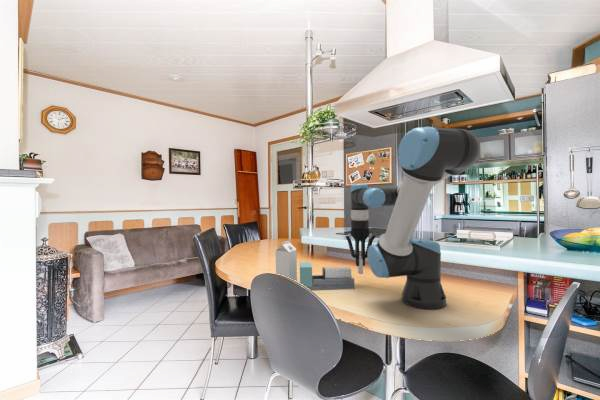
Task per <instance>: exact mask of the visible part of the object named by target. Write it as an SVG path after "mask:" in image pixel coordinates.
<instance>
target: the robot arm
mask: <svg viewBox="0 0 600 400" xmlns="http://www.w3.org/2000/svg"><path fill="white" fill-rule="evenodd" d="M397 151H398V152H397V154H398V157H397V159H398V162H399V164H400V166H401V167H400V168H401V169H400V170H401V171H402V173H403V175H404V176H403V179H402V182H401V183H400V184H398V185H397V186H396V187H378V188H377V187H369V185H368V184H366V183H362V184H361V183H358V184H356V183H354V184H351V185H350V219H351V220H350V232H349V233H348V234H346V235H345V236H344V238H345V239H346V240H347V245H348V247H349V251H350V255H351V257H352V258H354V259H355V266H356V267H357V273H358V274H359V275H363V274H364V270H363V269H364V267H365V266H366V259H367V261H368V265H369V268H370V271H371V272H372V273H373V274H374V276H376V277H377V278H380V279H381V278H382V279H383V278H385V279H390V278H396V277H406V281H405V284H404V286H403V289H402V291H401V300H402V302H403V303H404V304H406V305H407V306H411V307H413V308H418V309H424V310H437V309H442V308H445V307H446V306H447V297H446V294H445V291H444V288H443V286H442V282H441V281H442V280H441V277H442V275H441V273H442V272H441V265H442V264H441V263H442V262H441V261H442V260H441V259H442V258H441V257H442V253H441V245H440V243H439V242H437V241H435V240H430V239H424V238H417V237H414V234H415V232H416V229H417V227H418V224H419V221H420V219H421V217H422V214H423V212H424V209H425V207H426V204H427V201H428V199H429V196H430V195H431V191H432V189H433V187H435V186H437V184H439V183H441V182H442V181H444V180H446V179H447V178H450V177H451V176H453V177H454V176H459V175H460V174H462V173H463V172H466V171H467V170H468V169H470V168H471V167H473V166H474V165H475V163H476V162H477V161H478V159H479V157H480V154H481V145H480V141H479V139H478V138H477V136H476V135H475V134H474V133H472V132H471V131H469V130H467V129H465V128H458V127H457V128H452V127H451V128H450V127H436V126H435V127H433V126H423V127H419V126H418V127H415V128H412V129H411V130H409V131H408V132H407V133H405V134H404V136H403V137H402V139H401V140H400V143H399V146H398V149H397ZM369 207H370V208H371V209H372V208H373V209H374V208H379V207H383V208H384V207H393V209H392V212H391V215H390V219H389V220H388V224H387V226H386V231H385V233H382V234H381V235H380V236H379V237H378V240H377V243H376V244H374V243H373V241H374V240H375V238H376V235H374V234H372V233H371V232H370V229H369V228H370V227H369V226H370V224H369V223H370V222H369V218H370V217H369V214H370V213H369ZM352 238H353V240H354V242H355V243H354V245H355V246H354V245H353V243H352V242H353V241H352ZM367 238H368V240H367ZM366 240H367V245H366ZM354 247H355V249H354Z"/></svg>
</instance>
